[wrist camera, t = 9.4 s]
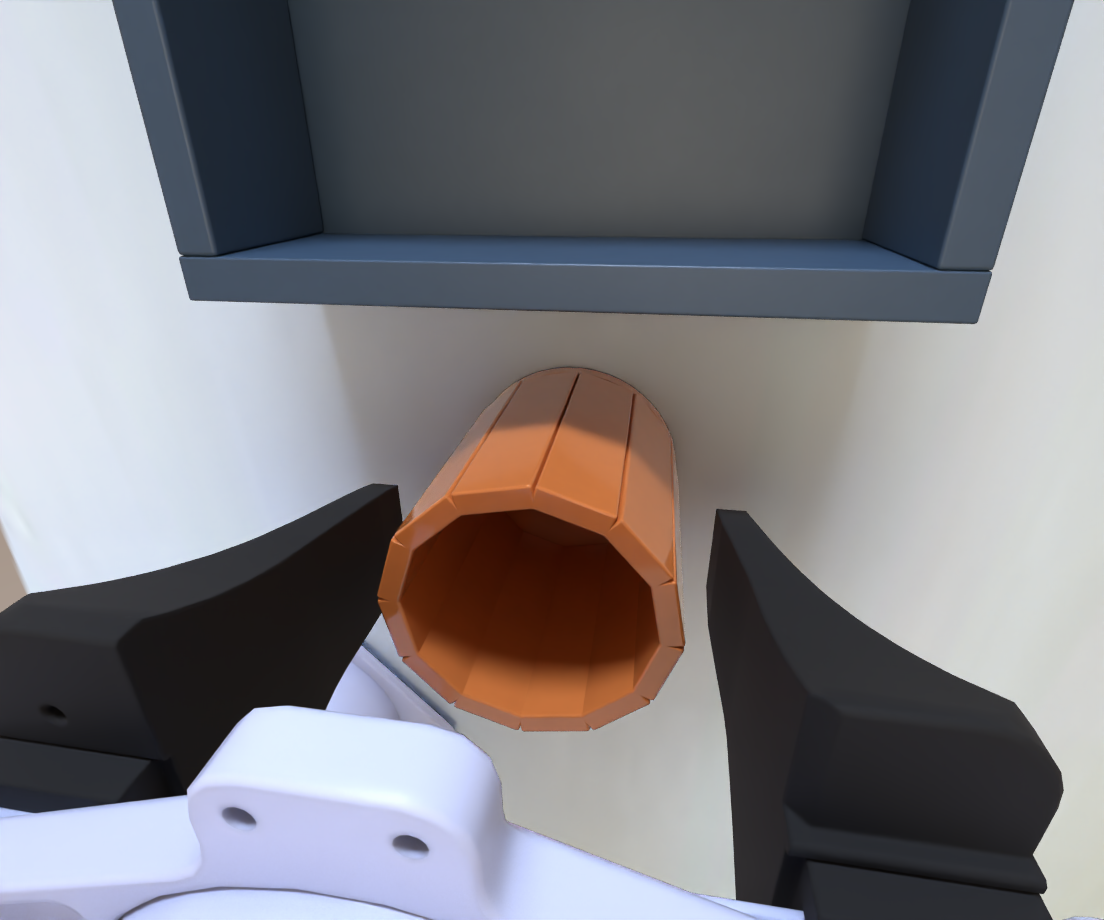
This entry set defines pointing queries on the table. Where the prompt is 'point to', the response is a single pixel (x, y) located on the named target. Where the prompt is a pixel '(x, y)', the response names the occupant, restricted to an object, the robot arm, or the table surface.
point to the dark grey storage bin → (594, 150)
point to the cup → (545, 559)
